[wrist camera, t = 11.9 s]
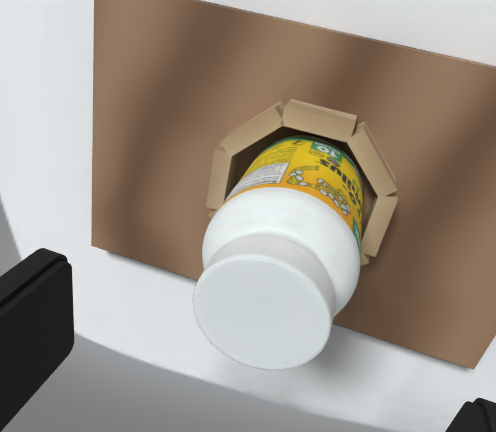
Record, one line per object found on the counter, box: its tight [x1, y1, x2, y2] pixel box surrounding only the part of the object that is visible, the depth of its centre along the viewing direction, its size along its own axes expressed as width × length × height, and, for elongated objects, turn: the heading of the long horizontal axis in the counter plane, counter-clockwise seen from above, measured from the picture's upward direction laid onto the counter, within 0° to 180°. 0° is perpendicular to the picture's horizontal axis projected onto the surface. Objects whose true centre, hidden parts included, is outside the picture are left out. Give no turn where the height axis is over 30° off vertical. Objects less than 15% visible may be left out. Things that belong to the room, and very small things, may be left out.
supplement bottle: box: [193, 135, 363, 370], centre depth 16 cm, size 5×5×10 cm
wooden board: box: [91, 0, 496, 369], centre depth 20 cm, size 22×14×3 cm, turn 79°
